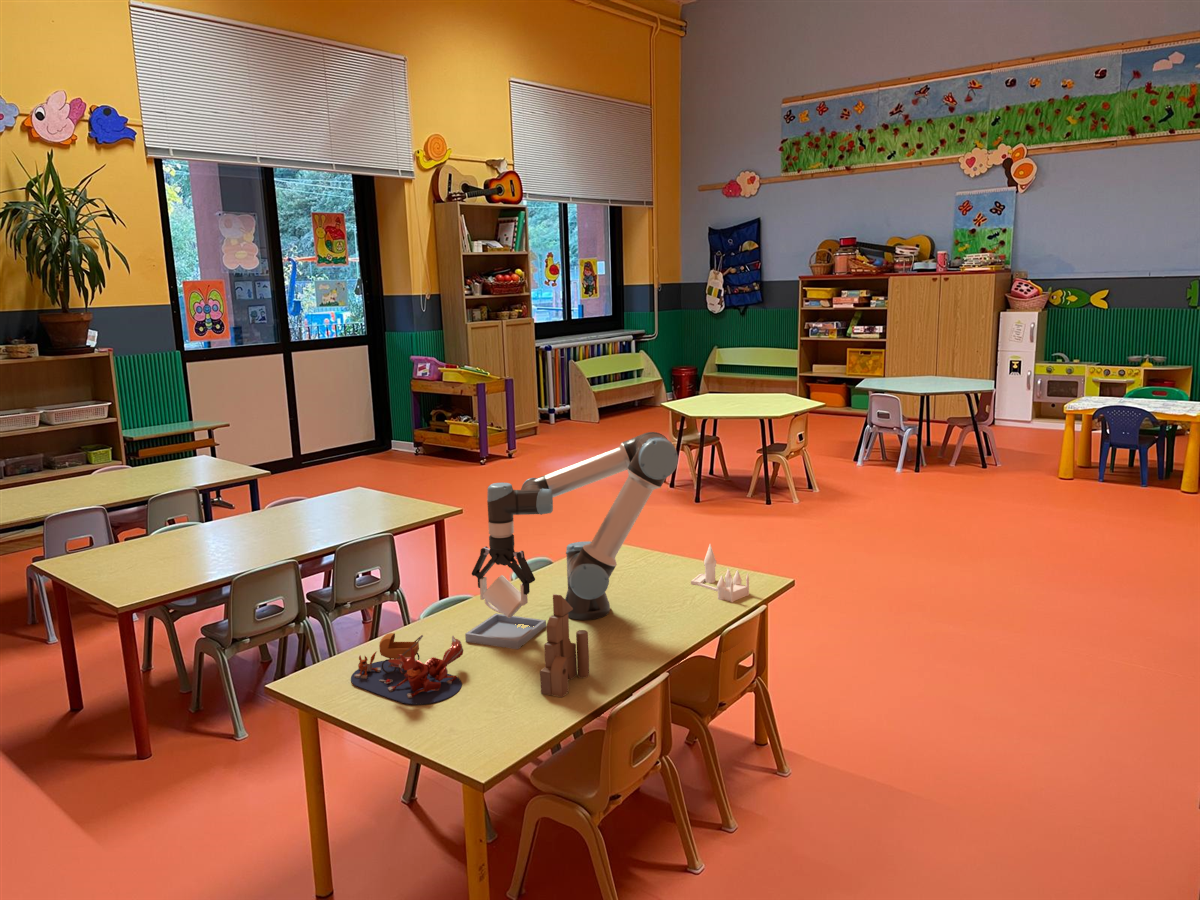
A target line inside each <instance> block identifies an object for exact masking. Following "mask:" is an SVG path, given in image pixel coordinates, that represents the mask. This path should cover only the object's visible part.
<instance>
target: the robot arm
mask: <svg viewBox="0 0 1200 900" xmlns="http://www.w3.org/2000/svg"><path fill="white" fill-rule="evenodd" d="M678 457H679V455H678V451H677V449H676V447H675V445H674V443H672V442H671V441H670V439H668V438H667V437H666V436H665V435H663V434H662V433H659V432H657V431H656V432H655V431H648V432H644V433H642V434H638V435H637V436H635V437H632V438H630V439H627V440H625V441H623V442H620V445H619V446H618V447H616V448H613V449H611V450H608V451H605V452H602V453H600V454H597V455H594V456H592V457H589V458H587V459H584V460H581V461H579V462H576V463H573V464H571V465H568V466H565V467H563V468H561V469H558V470H555V471H552V472H550V473H547V474H545V475H542V476H540V477H530V478H527V479H526V480H525V481H524V482H523V483H522V486H521V489H514V488H513V484H511V483H510V482H493V483H491V484H490V485H488V487H487V498H486V499H487V501H486V502H487V503H486V504H487V517H488V520H487V522H488V534H489V536H488V542H489V543H488V545H489V547H488V546H484V547H482V548H480V551H479V557H478V559H477V561H476V563H475V565H474V567H473V569H472V572H471V575H472V577H476V578H477V587H478V589H480V590H479V594H480V600H485V599H484V598H483V595H484V593H485V592H486V590H487V589H488V586H487V585H488V583H487V582H488V581H487V580H488V578H487V576H486V574H487V573H488V572H489V571H490V569H491V568H492V567H493V566H494V565H497V566H499V565H502V566H507V567H508V568H510V569H511V570H512V572H513V573H514V574H515V575H516V576H517V578H518V579H519V581H520V582H521V584H520V592H521V605H522V606H523V607H524V606H525V605H526V604H528V603H529V602H528V595H529V594H530V584H532V583H533V582H535V580H536V577H535V576H534V574H533V572H532V569H531V568H530V566H529V563H528V561H527V559H526V557H525V552H524V550H520V551H515V535H514V533H515V528H514V527H515V526H514V525H515V524H514V516H519V515H520V516H521V515H522V516H523V515H527V516H528V515H529V516H530V515H545V514H547V515H548V514H551V513H553V511H554V503H553V502H554V498H555V497H558V496H561V495H563V494H566V493H569V492H572V491H574V490H577V489H579V488H583V487H584V486H587V485H589V484H594V483H595V482H598V481H601V480H603V479H607V478H608V477H611V476H614V475H617V474H619V473H622V472H625V471H627V473H628V476H627V478H626V480H625V481H624V484H623V485H622V487H621V489H620V490H619V492H618V494H617V496H616V498H615V500H614V501H613V503H612V504H611V506H610V507H609V510H608V512H607V514H606V515H605V517H604V519H603V521H602V523H601V524H600V526H599V528H598V530H597V532H596V533H595V535H594V537H593V538H592V540H591V541H576V542H572V543H571V542H570V543H568V545H567V546H566V551H565V554H566V576H567V578H566V579H567V591H566V596H565V597H564V599H565V600H566V601H567V602H568V604H569V605H570V606H571V607H572V608H573V610H571V611H570V612H568V618H570V619H573V620H577V621H578V620H580V621H589V620H590V621H591V620H596V619H601V618H604V617H605V616H607V615H609V614H610V612H611V605H610V601H609V599H608V596H607V594H606V592H607V590H608V588H609V584H610V577H612V574H613V572H614V570H615V569H616V567H617V561H616V556H617V555H618V553H619V551H620V550H621V548H622V546H623V545H624V542H625V541H626V539H627V537H628V536H629V534H630V532H631V530H632V528H633V527H634V524H635V523H636V521H637V520H638V518H639V516H640V514H641V512H642V511H643V509H644V507H645V505H646V503H648V500H649V498H650V497H651V495H652V493H653V491H654V490H657V489H660V488H662V486H663V484H664V482H665V480H666V479H667V478H668V477H669V476H671V475H672V474H673V473H674V472H675V470H676V469H677V466H678V462H679V458H678ZM488 555H489V556H490V559H489V560H488V562H487V563H486V564H485V566H484V567H483V568H482V566H483V565H484V563H485V561H486V559H487V557H488ZM522 606H521V607H522Z"/></svg>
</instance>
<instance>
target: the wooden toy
mask: <svg viewBox="0 0 1200 900" xmlns="http://www.w3.org/2000/svg"><path fill="white" fill-rule="evenodd" d="M552 605H553V608H552V609H553V610H552V611H553V612H552V613H553V614H552V615H550V616H549V618H548V621H547V622H546V641H547V642H545V643H544V645H543V647H544V651H543V652H544V667H543V668H541V670H540V671H539V675H540V676H539V678H540V679H539V680H540V693H541V694H543V695H546V696H547V695H548V696H554V697H558V698H563V697H565V696H566V695H567V694H568V693H569V681H570V680H572V679H574V678H575V677H576V676H577V677H578V678H579V679H585V678H588V677H589V676H590V655H589V654H590V653H589V652H590V650H589V632H588V631H587V630H586V629H585V630H584V629H581V630H580V629H579V630H577V631H576V632H575V634H576V635H575V636H576V637H575V638H576V639H575V640H576V643H575V642H572V641H571V640H570V626H569V625H570V623H569V622H570V621H569V620H570V619H569V617H568V612H570V611H571V610H573V608H572V607H571V606H570V605H569V604H568V602H567V601H566V600H565V597H563V596H562V595H561V594H555V593H554V594H552Z"/></svg>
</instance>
